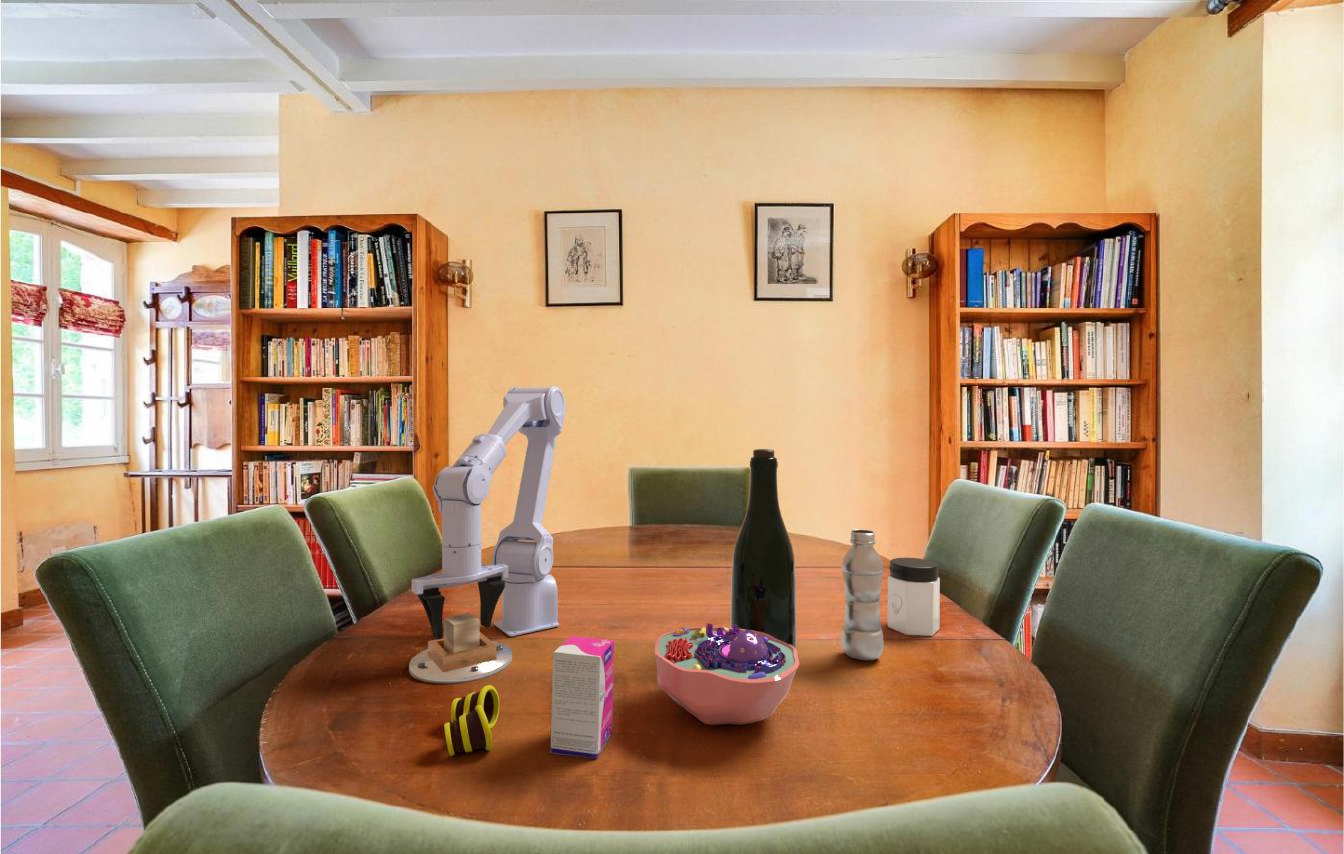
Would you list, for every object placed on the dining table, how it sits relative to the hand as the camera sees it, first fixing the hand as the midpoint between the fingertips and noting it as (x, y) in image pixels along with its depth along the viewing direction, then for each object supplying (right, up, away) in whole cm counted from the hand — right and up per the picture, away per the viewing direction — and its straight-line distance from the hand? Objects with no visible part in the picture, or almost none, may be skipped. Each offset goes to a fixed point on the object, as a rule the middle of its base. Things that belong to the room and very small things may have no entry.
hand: (462, 631), depth 94 cm
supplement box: (+22, -5, -23) cm, 33 cm away
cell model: (+39, -5, -16) cm, 43 cm away
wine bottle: (+47, -5, +3) cm, 47 cm away
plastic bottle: (+63, -5, +2) cm, 63 cm away
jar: (+76, -5, +16) cm, 78 cm away
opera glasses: (+9, -5, -22) cm, 24 cm away
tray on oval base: (0, -5, 0) cm, 5 cm away
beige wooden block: (0, -4, 0) cm, 4 cm away
